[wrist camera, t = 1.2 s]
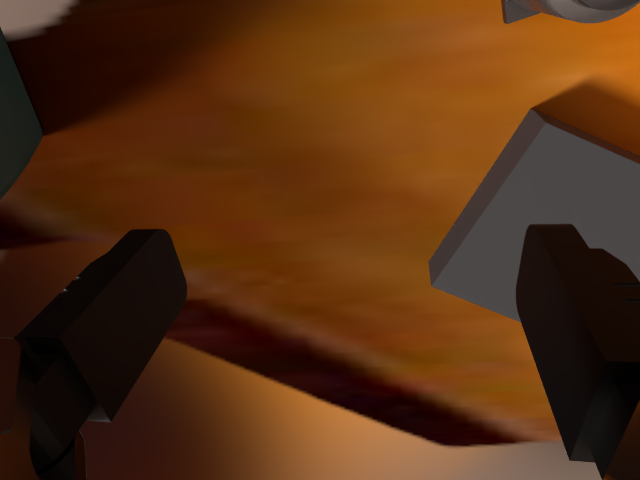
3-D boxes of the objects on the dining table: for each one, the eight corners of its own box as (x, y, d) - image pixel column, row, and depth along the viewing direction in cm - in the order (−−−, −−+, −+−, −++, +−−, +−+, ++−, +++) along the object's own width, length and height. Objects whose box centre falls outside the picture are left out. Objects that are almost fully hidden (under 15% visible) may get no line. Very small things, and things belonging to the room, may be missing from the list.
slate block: (529, 106, 31) (545, 122, 27) (707, 185, 32) (744, 210, 28) (428, 259, 39) (431, 286, 35) (572, 317, 40) (588, 349, 36)
